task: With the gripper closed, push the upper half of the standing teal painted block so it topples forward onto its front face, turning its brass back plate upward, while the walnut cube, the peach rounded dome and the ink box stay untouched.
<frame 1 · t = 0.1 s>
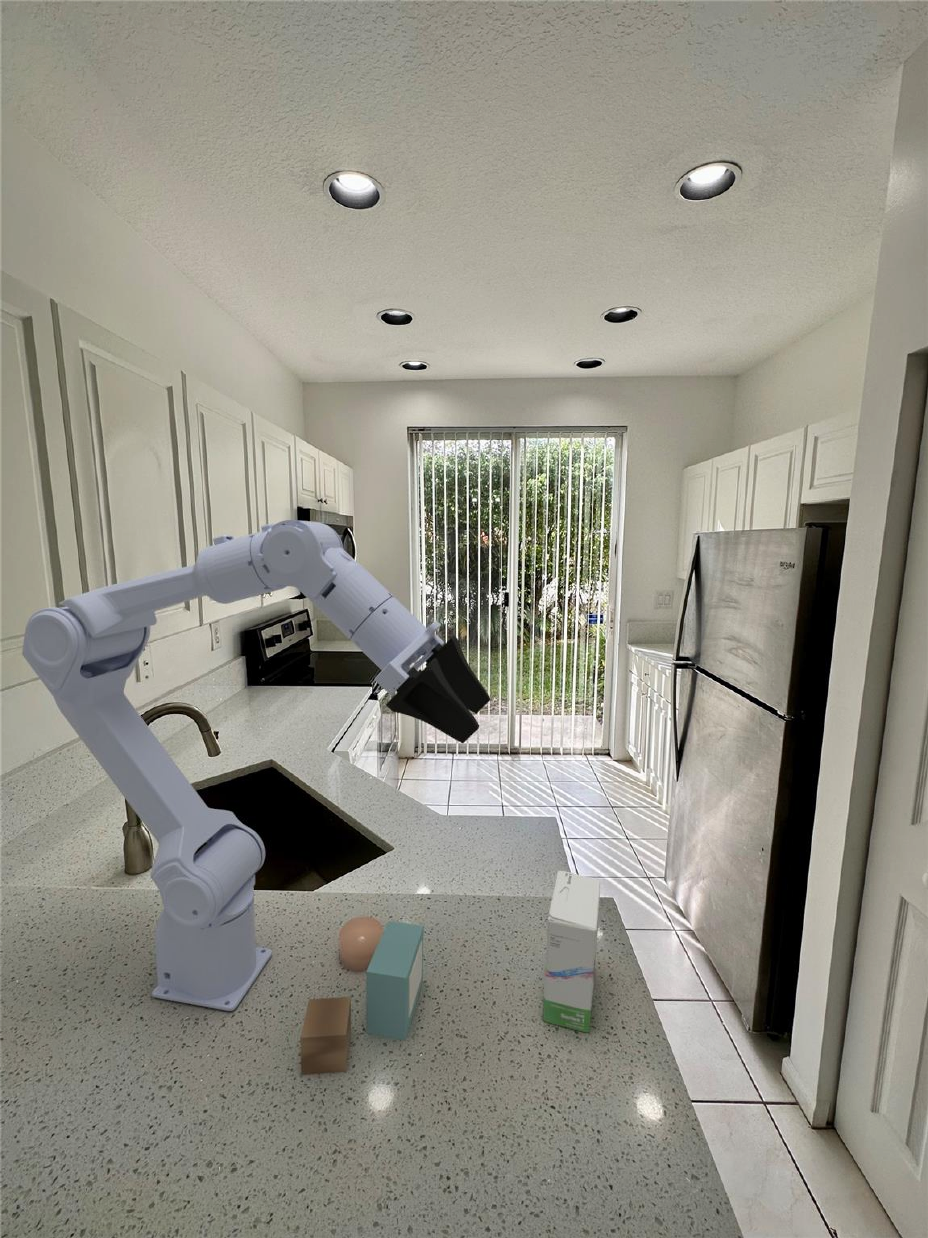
hand: (477, 719, 49), 32 cm above the worktop, tool tilted 50°, fingers open, 7 cm apart
peach rounded dome: (361, 954, 62), on the worktop
walnut cube: (327, 1053, 50), on the worktop
teal block: (396, 1007, 55), on the worktop
ink box: (569, 996, 57), on the worktop
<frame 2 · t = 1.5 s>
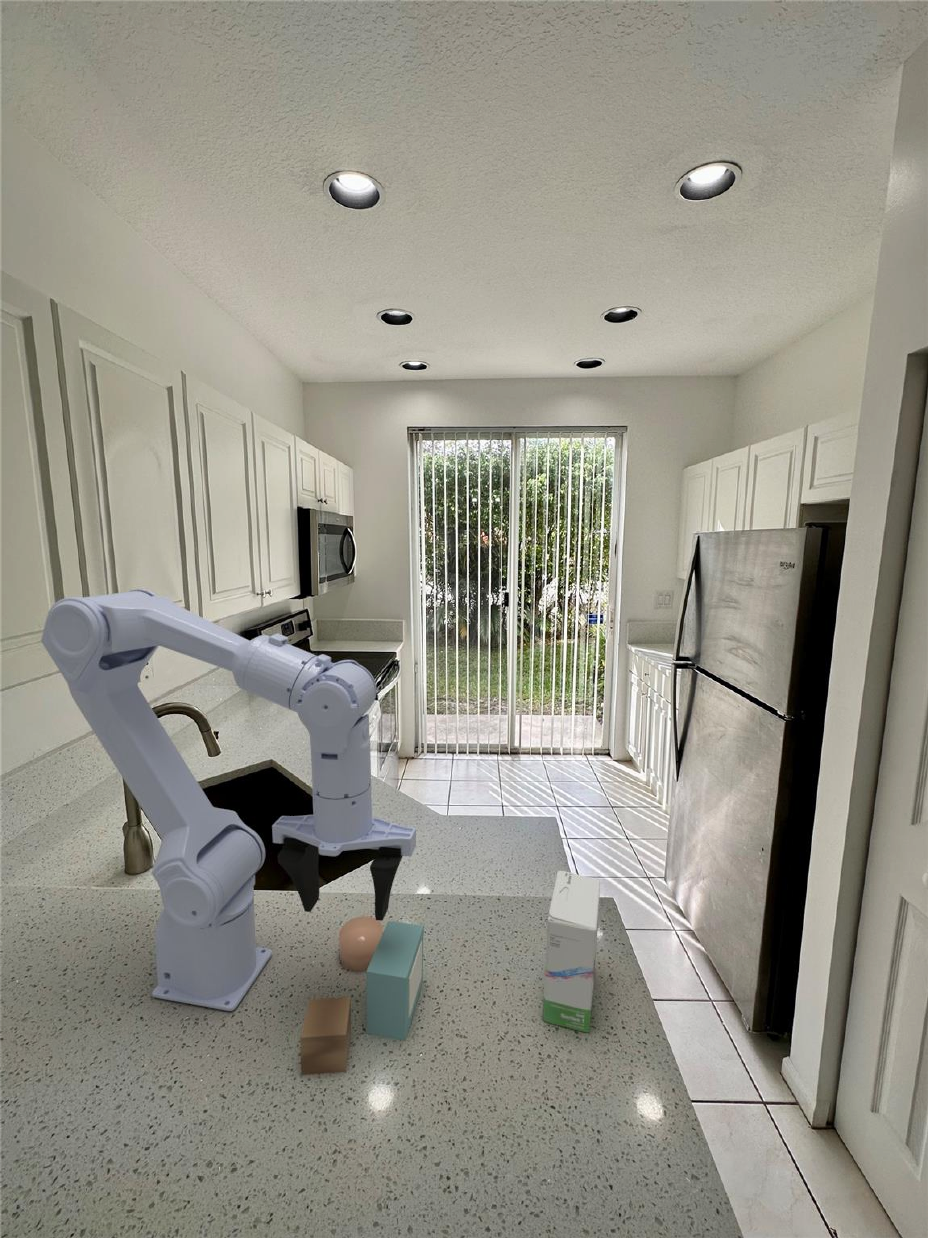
hand: (346, 909, 54), 10 cm above the worktop, tool pointing down, fingers open, 7 cm apart
nothing on the worktop moved.
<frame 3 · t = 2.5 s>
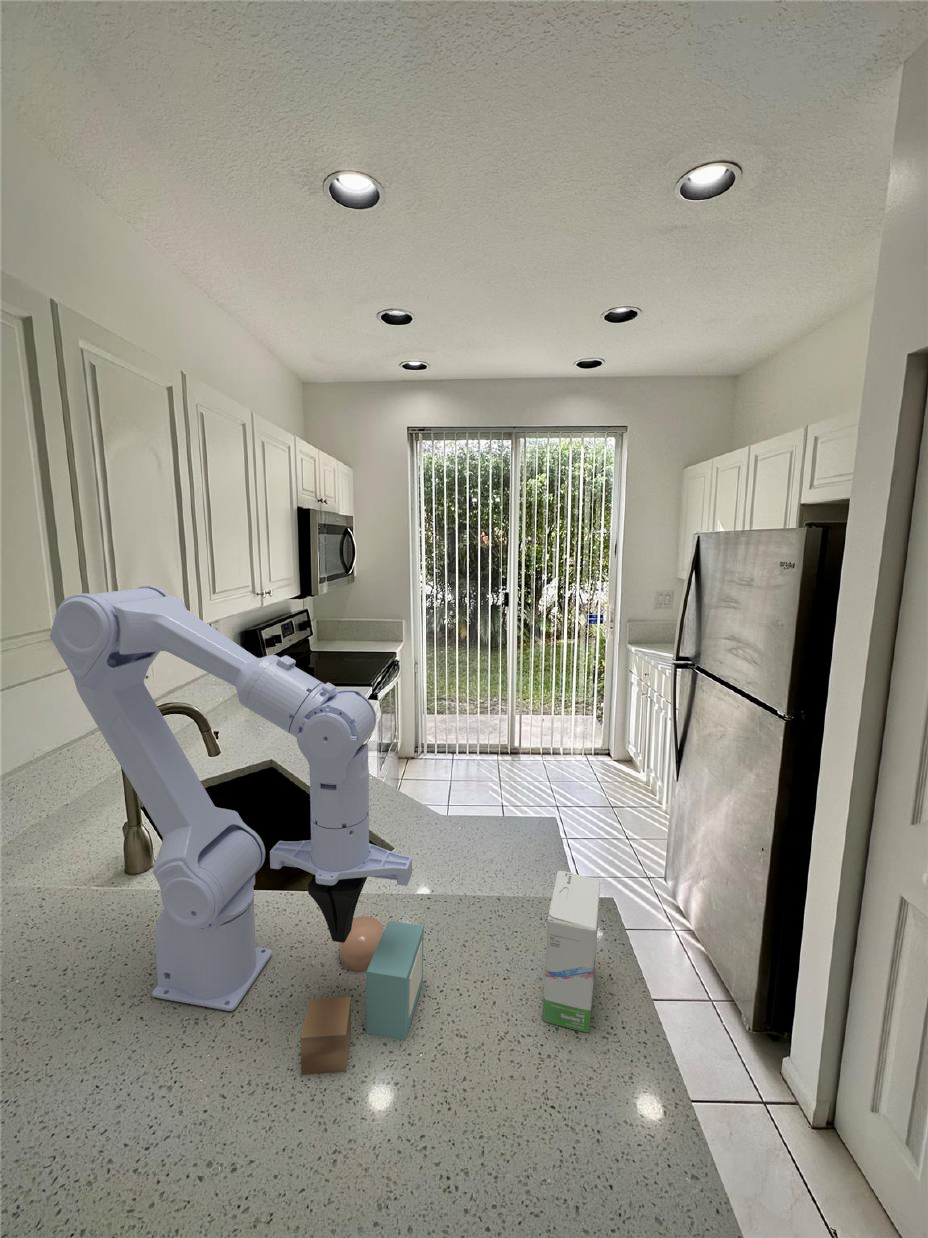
hand: (341, 935, 55), 7 cm above the worktop, tool pointing down, fingers closed
nothing on the worktop moved.
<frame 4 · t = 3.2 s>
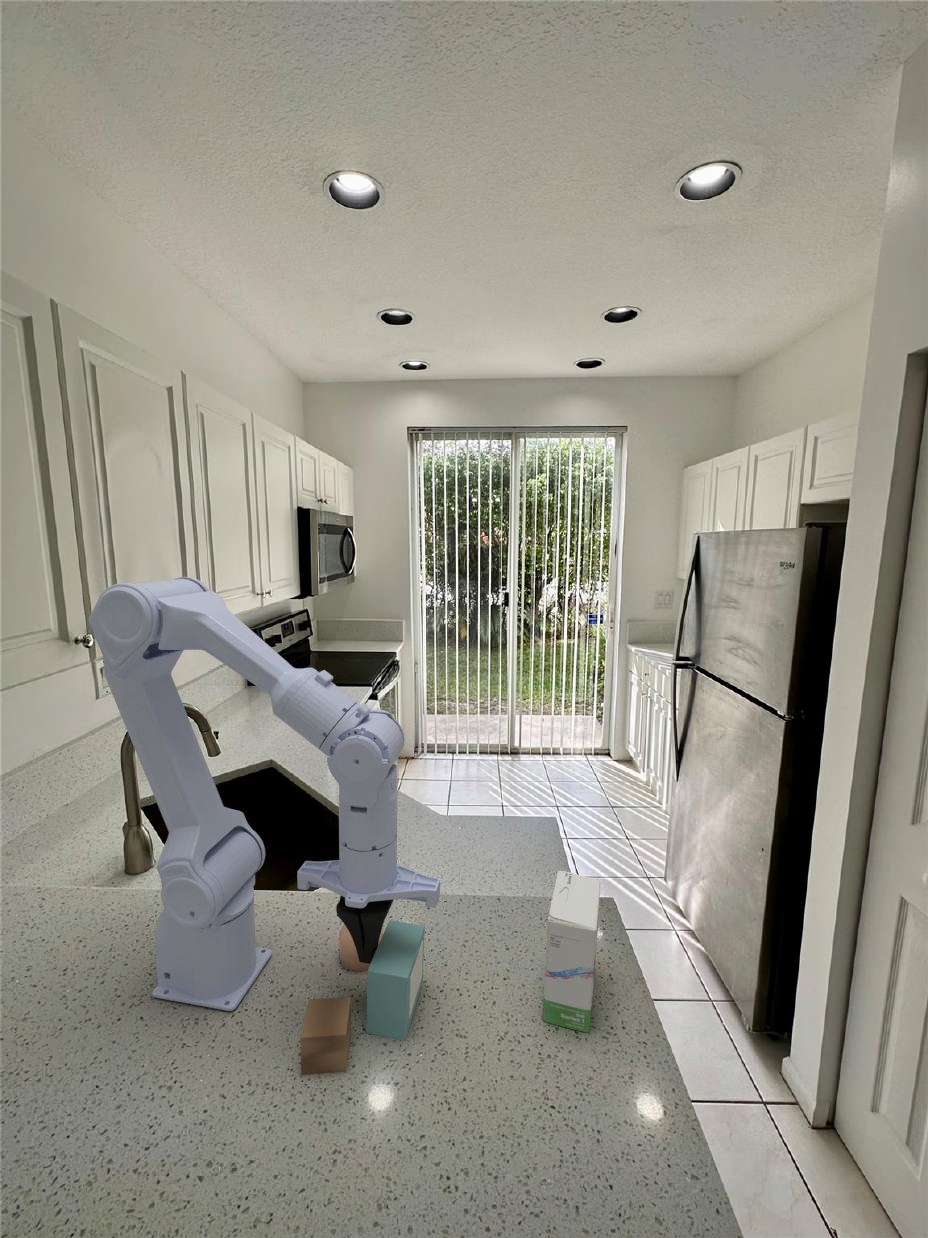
hand: (368, 955, 55), 5 cm above the worktop, tool pointing down, fingers closed
teal block: (396, 1006, 55), on the worktop, touching gripper
everything else where it was.
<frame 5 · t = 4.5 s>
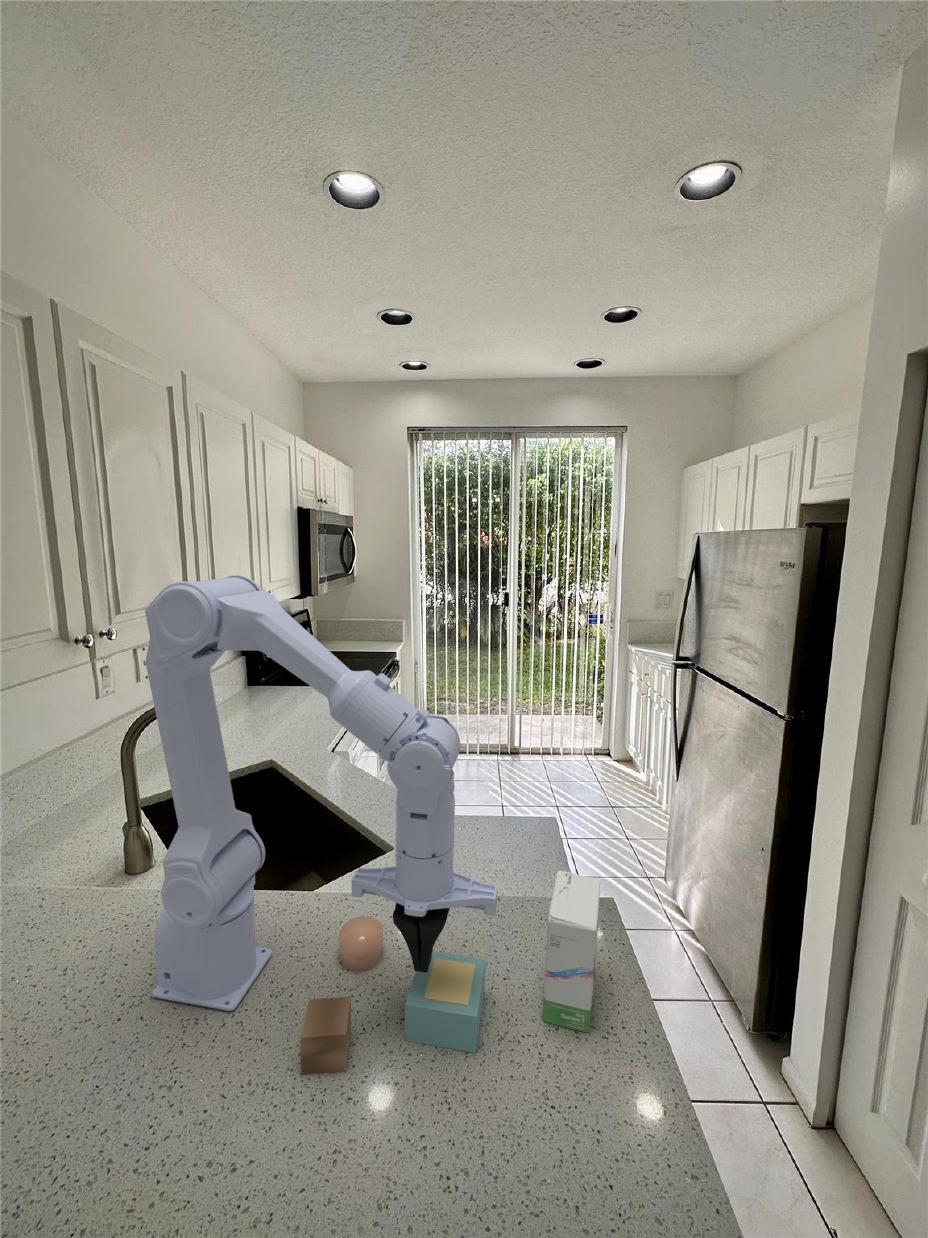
hand: (422, 964, 54), 5 cm above the worktop, tool pointing down, fingers closed
teal block: (414, 992, 55), point 2 cm above the worktop, tilted 90°
everything else where it was.
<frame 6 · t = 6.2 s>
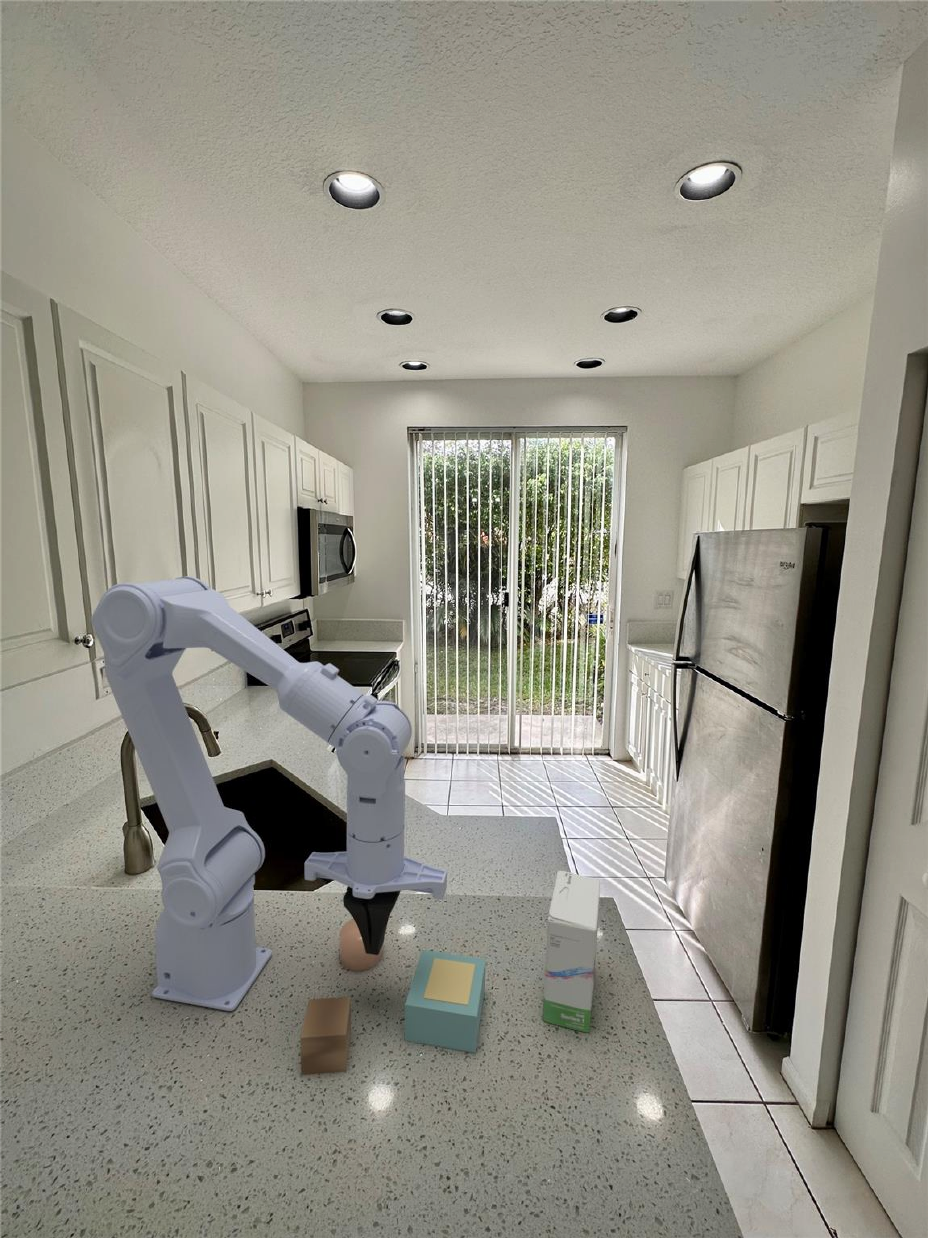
hand: (374, 947, 55), 6 cm above the worktop, tool pointing down, fingers closed
nothing on the worktop moved.
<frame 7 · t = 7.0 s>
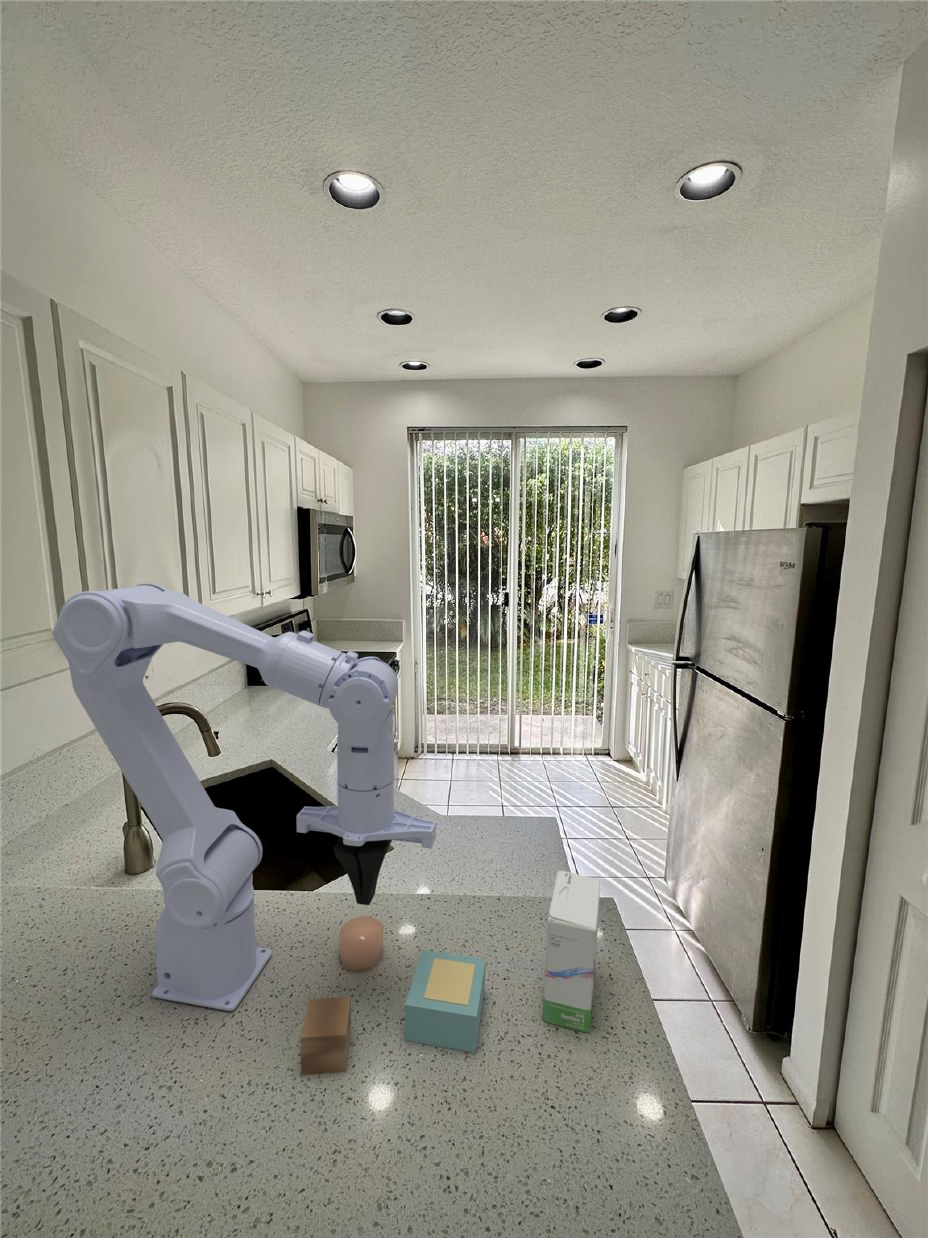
hand: (366, 898, 56), 10 cm above the worktop, tool pointing down, fingers closed
nothing on the worktop moved.
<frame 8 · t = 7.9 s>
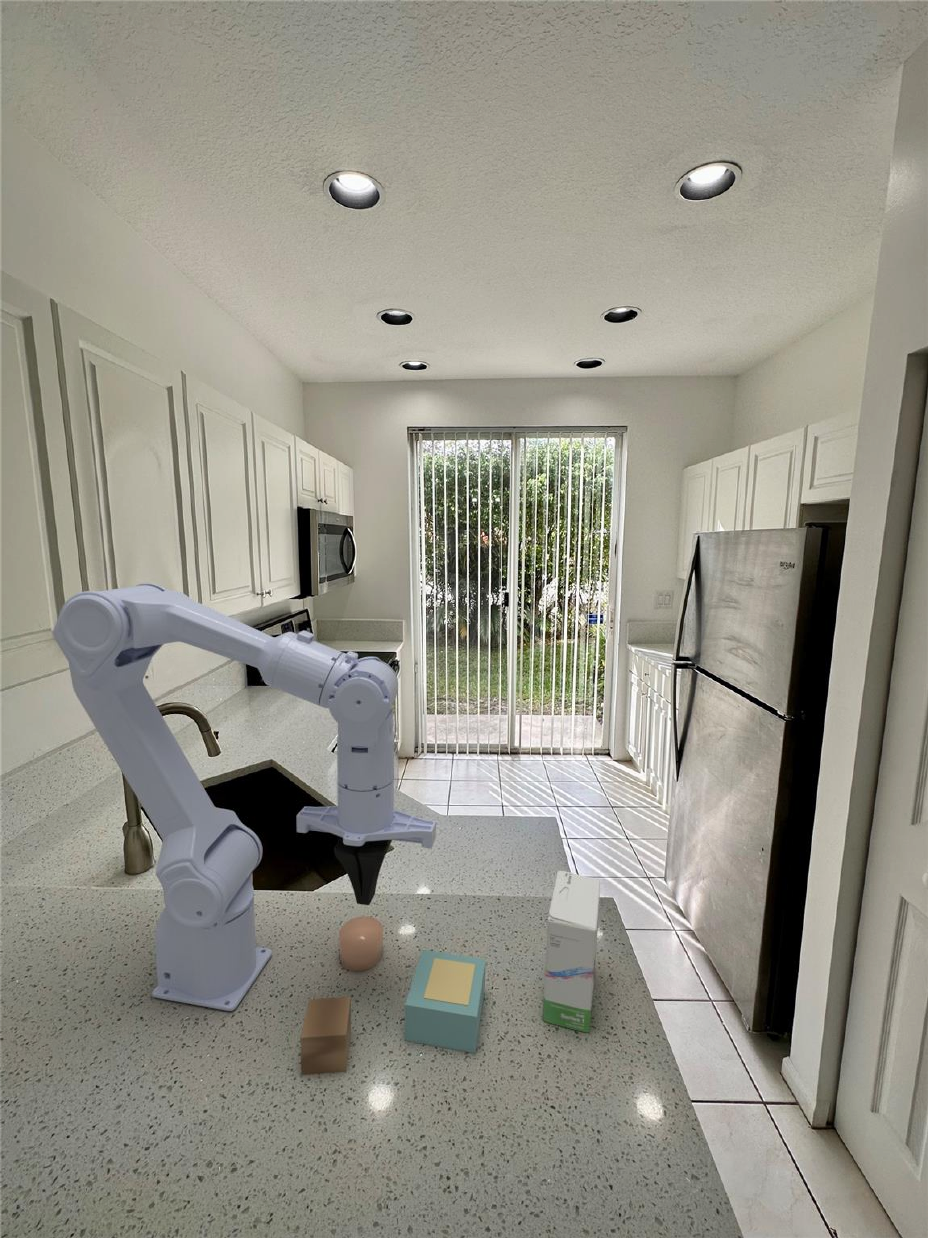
hand: (366, 898, 56), 10 cm above the worktop, tool pointing down, fingers closed
nothing on the worktop moved.
at the end: teal block tilted 90°; teal block inside the target area (4.1 cm from its centre), point 2.0 cm above the worktop; walnut cube moved 0.1 cm from its start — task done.
